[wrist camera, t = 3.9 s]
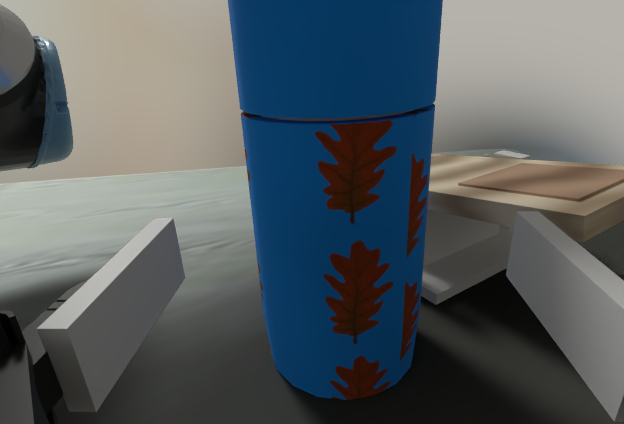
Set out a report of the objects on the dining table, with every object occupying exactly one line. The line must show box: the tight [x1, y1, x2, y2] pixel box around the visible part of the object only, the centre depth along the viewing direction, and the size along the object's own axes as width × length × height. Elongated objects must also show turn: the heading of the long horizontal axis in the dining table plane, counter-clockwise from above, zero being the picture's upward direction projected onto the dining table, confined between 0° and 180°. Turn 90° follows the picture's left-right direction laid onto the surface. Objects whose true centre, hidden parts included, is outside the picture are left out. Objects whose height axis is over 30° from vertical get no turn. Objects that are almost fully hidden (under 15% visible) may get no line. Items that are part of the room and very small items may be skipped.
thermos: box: [228, 0, 443, 400], centre depth 24 cm, size 11×11×25 cm
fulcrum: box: [421, 151, 530, 305], centre depth 39 cm, size 10×18×9 cm, turn 123°
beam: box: [427, 154, 624, 242], centre depth 37 cm, size 28×14×5 cm, turn 33°
